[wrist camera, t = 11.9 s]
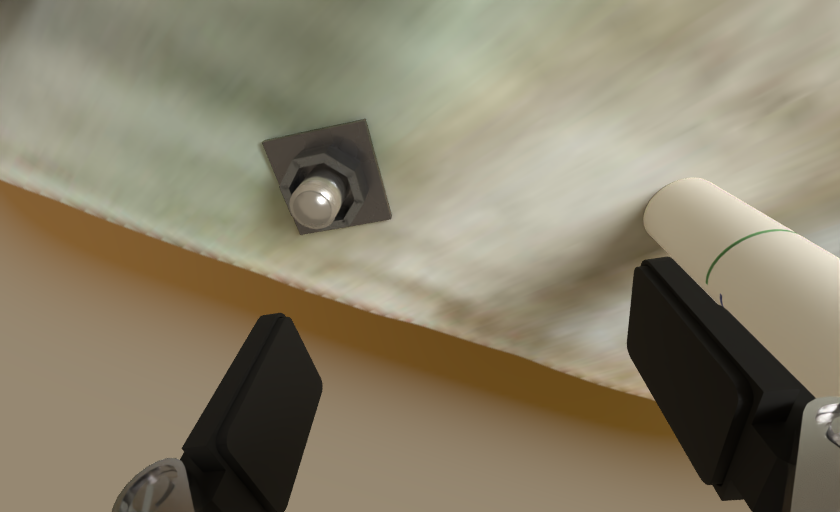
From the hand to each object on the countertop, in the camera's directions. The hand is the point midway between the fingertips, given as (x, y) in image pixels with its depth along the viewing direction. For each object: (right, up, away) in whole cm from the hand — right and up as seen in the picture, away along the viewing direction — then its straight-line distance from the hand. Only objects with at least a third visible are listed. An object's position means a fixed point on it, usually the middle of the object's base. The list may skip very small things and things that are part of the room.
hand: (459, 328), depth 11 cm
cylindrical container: (+25, +7, +28) cm, 39 cm away
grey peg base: (-10, +10, +28) cm, 31 cm away
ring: (-10, +9, +27) cm, 30 cm away
